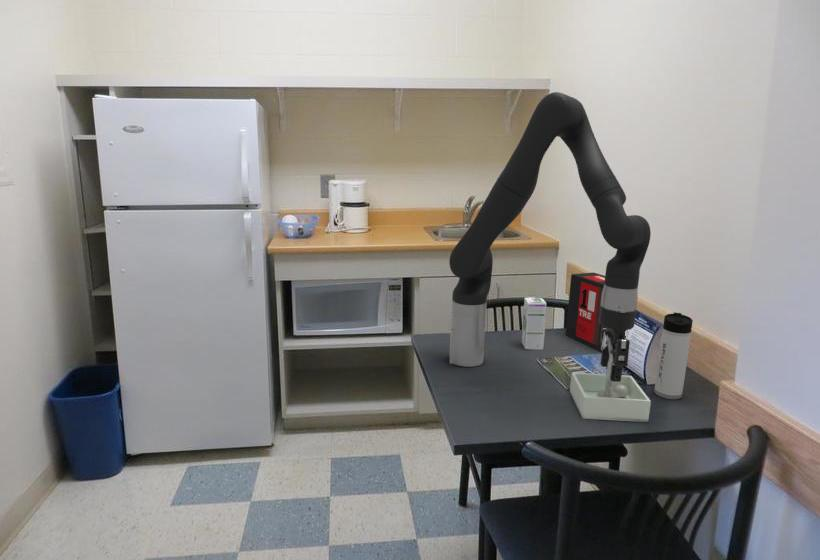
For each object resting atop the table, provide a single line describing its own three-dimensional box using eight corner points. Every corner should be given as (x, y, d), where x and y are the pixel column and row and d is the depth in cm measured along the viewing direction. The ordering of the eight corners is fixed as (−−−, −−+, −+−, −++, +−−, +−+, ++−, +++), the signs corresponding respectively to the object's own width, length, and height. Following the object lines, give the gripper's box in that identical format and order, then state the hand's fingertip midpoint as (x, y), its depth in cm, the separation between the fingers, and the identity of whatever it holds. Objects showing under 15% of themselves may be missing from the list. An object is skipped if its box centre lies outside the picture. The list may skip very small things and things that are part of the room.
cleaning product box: (625, 349, 173) (633, 284, 168) (602, 352, 169) (609, 286, 165) (587, 332, 188) (593, 272, 183) (565, 335, 184) (571, 274, 179)
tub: (582, 418, 128) (584, 397, 127) (569, 391, 142) (571, 372, 141) (648, 422, 127) (650, 401, 126) (628, 395, 141) (631, 375, 140)
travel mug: (680, 390, 144) (691, 313, 140) (683, 401, 138) (694, 321, 133) (653, 386, 146) (663, 310, 141) (654, 397, 140) (665, 318, 135)
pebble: (616, 399, 137) (617, 387, 136) (612, 393, 140) (613, 382, 139) (628, 400, 137) (630, 388, 136) (625, 394, 140) (626, 383, 139)
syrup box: (543, 350, 170) (548, 302, 167) (523, 349, 170) (527, 301, 167) (539, 343, 176) (543, 297, 172) (520, 342, 176) (524, 296, 172)
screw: (614, 399, 137) (620, 408, 132) (593, 398, 137) (598, 407, 132) (620, 347, 134) (627, 354, 129) (599, 346, 134) (604, 353, 129)
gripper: (593, 296, 136) (586, 361, 140) (609, 313, 122) (601, 385, 126) (626, 297, 135) (618, 363, 139) (646, 315, 122) (636, 387, 125)
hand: (610, 373), depth 132 cm, fingers open, 8 cm apart
